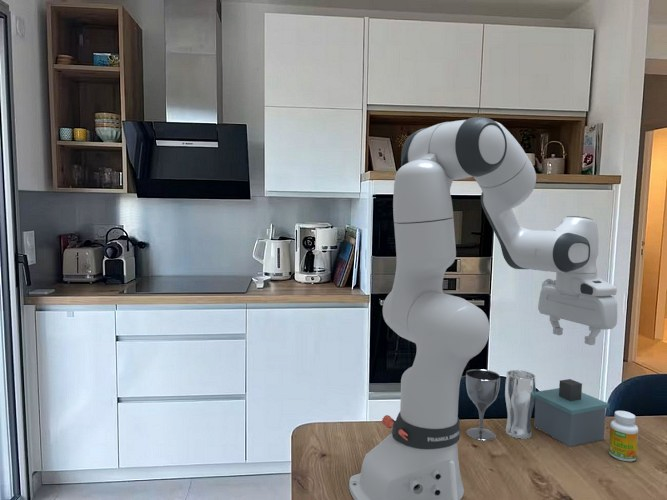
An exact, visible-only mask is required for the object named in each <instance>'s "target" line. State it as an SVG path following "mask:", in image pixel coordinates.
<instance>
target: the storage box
mask: <svg viewBox="0 0 667 500" xmlns="http://www.w3.org/2000/svg"><path fill="white" fill-rule="evenodd" d="M606 409H607V408H606ZM606 409H600V410H595V411H589V412H584V413H579V414H573V415H571V414H569V413H567V412H565V411H563V410H561V409H558V408H556V407H554V406H552V405H550V404H548V403H546V402H544V401H542V400H540V399H538V398H536V397H535V402H534V424H533V425H534V427H533V428H535V427H537V428H538V429H537V428H536V429H537V430H539V429H540V430H542V431H544V432H546V433H547V434H546V433H545V434H546V435H548V434H549V435H551V436H553V437H554V438H553V437H552V438H553V439H555V438H556V439H555V440H557V439H558V440H559V442H560V441H561V443H562V442H563V443H562V444H564V445H566V446H567V445H568V446H567V447H569V448H571V447H576V446H580V444H581V445H585V444H589V443H588V442H590V443H593V442H599V441H602V440H605V426H606V425H605V424H606ZM540 430H539V431H540ZM542 431H541V432H542ZM544 432H543V433H544ZM549 435H548V436H549ZM551 436H550V437H551ZM558 440H557V441H558Z"/></svg>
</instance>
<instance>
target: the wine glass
mask: <svg viewBox="0 0 667 500" xmlns="http://www.w3.org/2000/svg"><path fill="white" fill-rule="evenodd" d="M465 385H466V392H467V395H468V397H469V399H470V400H471V401H472V403H473V405H475V407H476V408H477V410H478V418H479V425H478V427H479V428H478V427H477V426H474V427H475V428H472V427H470V428H471V429H468V428H467V429H468V431H467V434H469V435H470V437H469V438H471V437H472V438H471V439H473V438H474V439H473V440H476V439H477V441H482V440H483V441H485V442H487V441H493V440H495V439H496V438H497V435H496V433H495V432H494V431H492V430H491V429H488V428H484V425H483V424H484V422H483V421H484V416H485V412H486V410H487V409H488V408H489V407H490V406H491V405H492V404H493V403H494V402H495V401H496V400H497V398H498V394H499V391H500V386H501V375H500V374H499V373H497V372H495V371H493V370H489V369H484V368H483V369H479V368H476V369H475V368H474V369H468V370H466V372H465ZM476 427H477V428H476ZM490 430H491V431H490ZM493 432H494V433H495V434H494V433H493ZM467 434H466V435H467Z"/></svg>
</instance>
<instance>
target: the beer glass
mask: <svg viewBox="0 0 667 500" xmlns="http://www.w3.org/2000/svg"><path fill="white" fill-rule="evenodd" d="M504 385H505V387H504V389H505V390H504V397H505V403H506V404H505V405H506V412H507V420H506V425H505V431H506V432H505V433H506V434H507V436H509V435H510V436H509V437H511V436H512V437H511V438H514V437H515V438H514V439H517V438H521V439H520V440H528V439H530V438H532V436H533V435H532V434H533V433H532V432H533V431H532V426H531V420H532V414H533V411H534V408H535V399H536V397H535V394H536V392H537V389H536V386H537V384H536V375H535V374H533V373H532V372H529V371H526V370H519V369H513V370H512V369H511V370H508V371H507V372H506V378H505V384H504ZM527 438H528V439H527Z"/></svg>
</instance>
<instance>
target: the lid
mask: <svg viewBox="0 0 667 500" xmlns="http://www.w3.org/2000/svg"><path fill="white" fill-rule="evenodd" d="M558 387H559V388H551V389H545V390H538V391H536V394H535V399H536V398H538V399H540V400H542V401H544V402H546V403H548V404H550V405H552V406H554V407H556V408H558V409H561V410H563V411H565V412H567V413H569V414H571V415H573V414H579V413H584V412H589V411H595V410H600V409H610V403H608V402H605V401H603V400H601V399H598V398H596V397H594V396H591V395H589V394H587V393H584V392H582V389H583V383H581V382H579V381H576V380H574V379H571V378H568V379H562V380H559V386H558Z"/></svg>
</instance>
